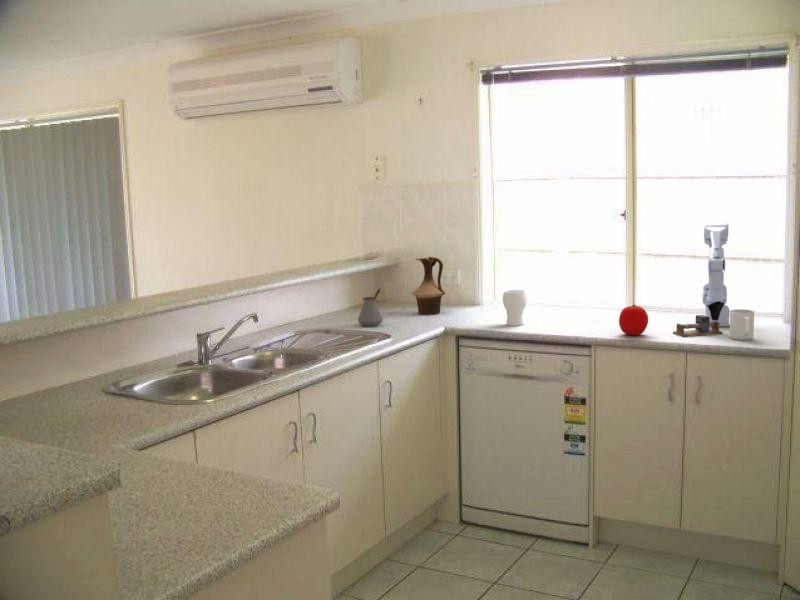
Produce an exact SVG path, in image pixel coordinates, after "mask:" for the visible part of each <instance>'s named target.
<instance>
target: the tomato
mask: <svg viewBox="0 0 800 600" xmlns="http://www.w3.org/2000/svg"><path fill="white" fill-rule="evenodd" d="M648 324H649V315H648V313H647V310H645V309H644V308H643V307H641V306H638V305H635V304H632V305H628V306H627V307H624V308H623V309H621V311H620V313H619V317H618V325H619V328H620V330H621V331H622V333H623V334H626V335H628V336H640V335H642V334H643V333H644V332H645V331H646V329H647V326H648Z"/></svg>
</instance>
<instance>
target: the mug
mask: <svg viewBox="0 0 800 600" xmlns="http://www.w3.org/2000/svg"><path fill="white" fill-rule="evenodd" d="M729 311H730V313H729V324H730V326H729V337H730V338H731V340H734V339H735V340H734V341H742V340H745V341H751V340H752V339H753V338H754V336H755V333H754V332H755V311H754V310H751V309H740V308H739V309H731V310H729Z"/></svg>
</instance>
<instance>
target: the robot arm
mask: <svg viewBox="0 0 800 600" xmlns="http://www.w3.org/2000/svg"><path fill="white" fill-rule="evenodd" d="M703 237H704V238H703V241H704V244H705V245H707V246H708V248H709V251H708V252H709V253H708V254H709V256H708V257H709V258H708V262H707V263H708V264H707V271H708V282H707V283H706V284H704V285H703V287H702V304H703V305H704V306H705V309H704V312H705V313H704V314H705V315H704V316H708V317H710V318H709V323H711V322H712V321H715V322H719V327H730V311H731V310H730V307H729V306H728V305H727V302H728V301H727V300H728V291H727V286H726V285H725V282H724V280H725V279H724V278H725V277H724V275H725V271H726V259H725V251H724V250H725V249H724V247H723V246H725V245H726V244H727V243H728V237H729V224H728V223H704V226H703Z"/></svg>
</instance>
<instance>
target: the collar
mask: <svg viewBox="0 0 800 600" xmlns="http://www.w3.org/2000/svg"><path fill="white" fill-rule="evenodd" d="M709 318H710V317H708V316H705V315H704V314H696V315H695V324H697V323H701V328H694V330H698V331H701V332H709V329H710V327H709Z"/></svg>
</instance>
